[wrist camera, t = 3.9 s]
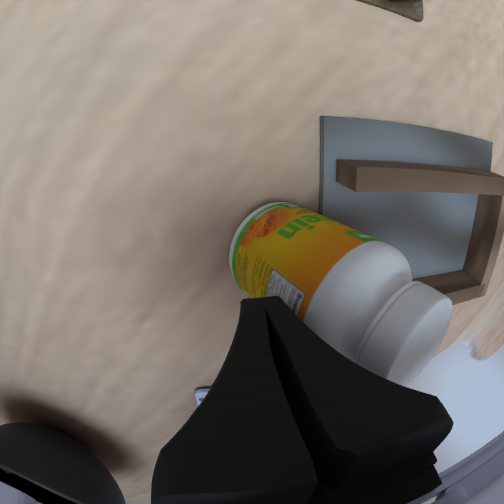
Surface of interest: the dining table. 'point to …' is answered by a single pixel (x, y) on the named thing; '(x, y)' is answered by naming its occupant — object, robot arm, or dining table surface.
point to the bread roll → (400, 7)
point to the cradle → (417, 198)
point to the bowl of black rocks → (53, 467)
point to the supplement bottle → (342, 288)
